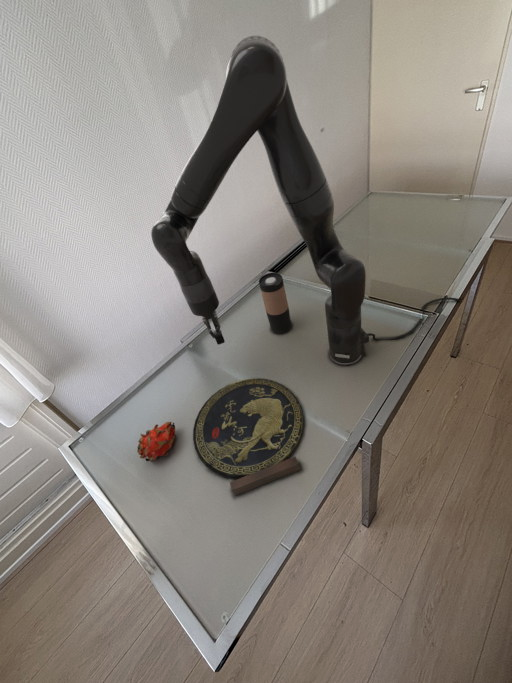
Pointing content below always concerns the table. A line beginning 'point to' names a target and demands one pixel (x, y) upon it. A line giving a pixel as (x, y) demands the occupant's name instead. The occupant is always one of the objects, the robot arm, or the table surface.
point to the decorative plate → (247, 427)
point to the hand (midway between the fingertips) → (221, 342)
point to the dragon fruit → (156, 441)
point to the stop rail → (264, 476)
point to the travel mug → (275, 302)
